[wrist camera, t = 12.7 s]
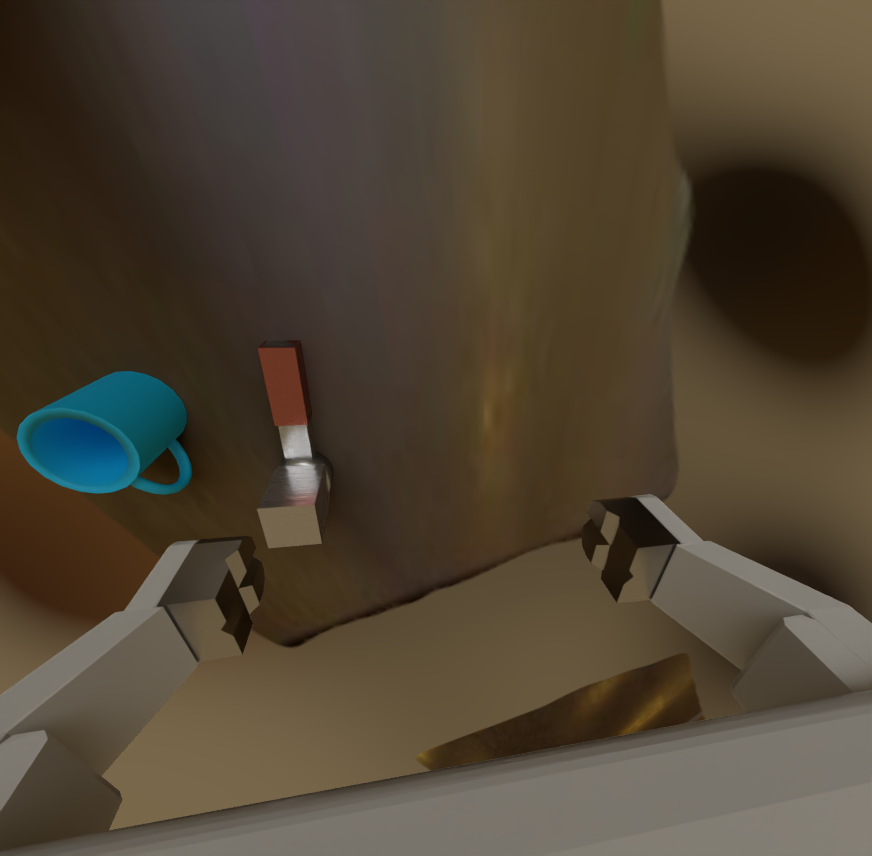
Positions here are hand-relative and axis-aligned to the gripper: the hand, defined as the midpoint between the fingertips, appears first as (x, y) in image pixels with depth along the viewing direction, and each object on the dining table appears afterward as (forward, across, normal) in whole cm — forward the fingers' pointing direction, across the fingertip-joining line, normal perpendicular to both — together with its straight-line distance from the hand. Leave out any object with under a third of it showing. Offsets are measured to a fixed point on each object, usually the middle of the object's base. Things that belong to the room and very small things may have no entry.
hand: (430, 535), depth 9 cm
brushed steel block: (+26, +11, +18) cm, 33 cm away
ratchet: (+29, +11, +12) cm, 33 cm away
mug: (+29, +25, +10) cm, 40 cm away
